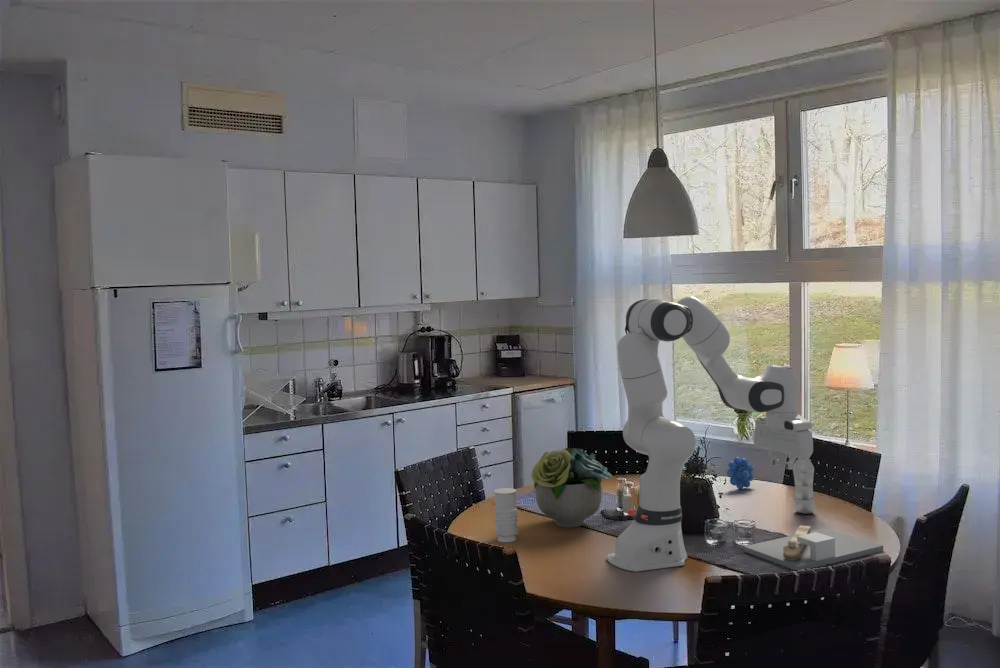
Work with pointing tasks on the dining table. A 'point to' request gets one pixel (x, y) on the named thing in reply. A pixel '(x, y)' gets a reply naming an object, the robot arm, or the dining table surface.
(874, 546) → the base
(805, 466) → the plastic bottle
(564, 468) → the flower arrangement
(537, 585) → the dining table surface
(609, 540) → the dining table surface
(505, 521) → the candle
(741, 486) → the grapes
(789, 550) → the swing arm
